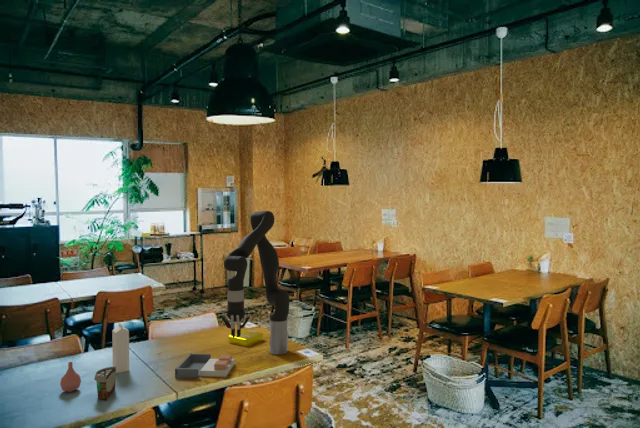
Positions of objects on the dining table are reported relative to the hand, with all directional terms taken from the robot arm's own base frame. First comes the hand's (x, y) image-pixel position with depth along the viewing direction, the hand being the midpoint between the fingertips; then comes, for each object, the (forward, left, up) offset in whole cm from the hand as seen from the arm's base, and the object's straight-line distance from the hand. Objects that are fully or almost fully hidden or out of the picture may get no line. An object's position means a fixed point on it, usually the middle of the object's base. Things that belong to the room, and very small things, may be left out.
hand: (235, 336), depth 217 cm
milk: (+54, -1, -17) cm, 57 cm away
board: (+9, -4, -17) cm, 20 cm away
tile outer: (+7, 0, -15) cm, 16 cm away
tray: (+21, -4, -17) cm, 27 cm away
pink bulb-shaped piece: (+64, +23, -17) cm, 71 cm away
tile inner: (+7, -8, -15) cm, 18 cm away
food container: (+48, +27, -17) cm, 58 cm away
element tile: (+5, -49, -18) cm, 52 cm away
